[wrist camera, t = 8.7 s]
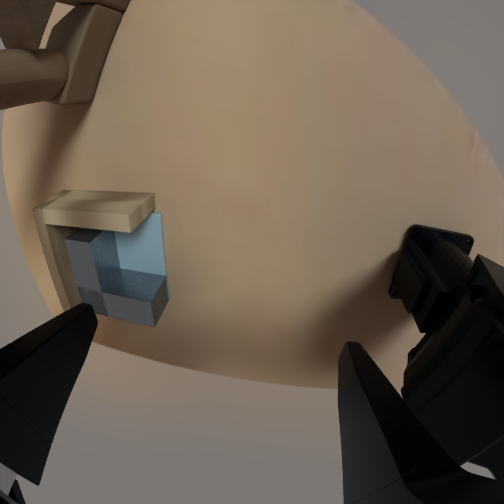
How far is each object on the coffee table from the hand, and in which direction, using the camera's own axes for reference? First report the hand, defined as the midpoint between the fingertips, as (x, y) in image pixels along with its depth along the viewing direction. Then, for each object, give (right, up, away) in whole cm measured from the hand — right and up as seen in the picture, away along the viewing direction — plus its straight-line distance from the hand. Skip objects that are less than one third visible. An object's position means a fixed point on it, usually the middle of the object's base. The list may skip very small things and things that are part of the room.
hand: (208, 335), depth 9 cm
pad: (-10, +3, +14) cm, 17 cm away
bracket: (-9, +2, +14) cm, 16 cm away
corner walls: (-10, +3, +13) cm, 17 cm away
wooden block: (-10, +19, +5) cm, 21 cm away
